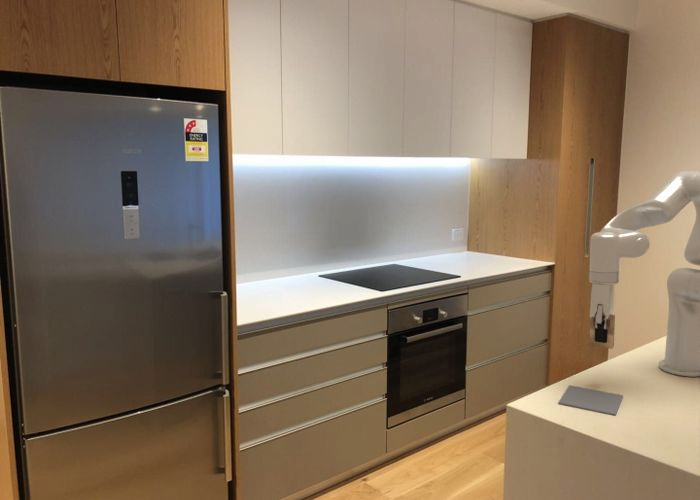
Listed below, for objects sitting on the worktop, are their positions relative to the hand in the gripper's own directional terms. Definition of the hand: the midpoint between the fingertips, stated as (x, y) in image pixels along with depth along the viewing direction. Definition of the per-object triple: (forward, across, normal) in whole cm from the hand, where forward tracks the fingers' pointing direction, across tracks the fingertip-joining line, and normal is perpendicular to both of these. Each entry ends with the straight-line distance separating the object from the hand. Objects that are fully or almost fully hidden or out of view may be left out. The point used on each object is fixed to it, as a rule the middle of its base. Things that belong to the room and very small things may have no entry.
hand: (601, 339), depth 166 cm
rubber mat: (+13, +13, 0) cm, 19 cm away
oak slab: (+2, 0, 0) cm, 2 cm away
